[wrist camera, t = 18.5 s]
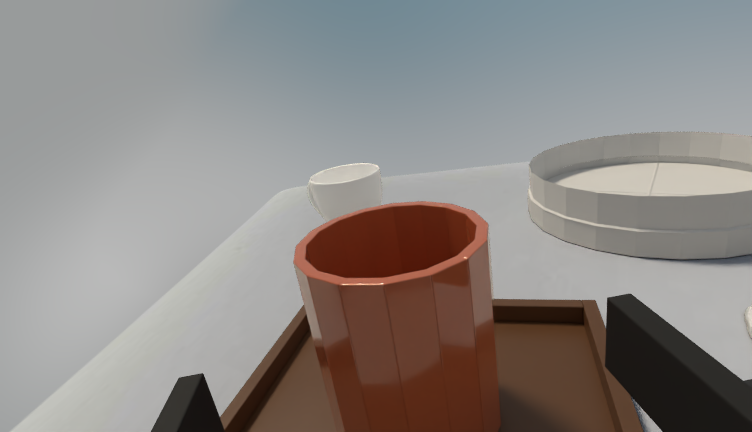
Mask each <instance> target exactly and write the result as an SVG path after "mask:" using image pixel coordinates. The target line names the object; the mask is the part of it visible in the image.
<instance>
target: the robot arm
mask: <svg viewBox="0 0 752 432" xmlns="http://www.w3.org/2000/svg"><path fill="white" fill-rule="evenodd" d="M605 367H606V368H607V369H608V371H609V372H610V373H611V374H612V375H613V376H614V377H615V378H616V380H617V381H618V382H619V383H620V384H621V385H622V386H623V387H624V389H625V390H626V391H627V392H628V393H629V394H630V395H631V396H632V398H633V399H634V400H635V401H636V402H637V403H638V404H639V405H640V407H641V408H642V409H643V410H644V411H645V412H646V413H647V414H648V416H649V417H650V418H651V419H652V420H653V421H654V422H655V423H656V425H657V426H658V427H659V428H660V429H661V430H662V431H663V432H752V379H751V380H746V381H743V380H741V379H740V378H739V377H737V376H736V375H735V374H733V373H732V372H731V371H730V370H728V369H727V368H726V367H724V366H723V365H722V364H721V363H719V362H718V361H717V360H715V359H714V358H713V357H712V356H710V355H709V354H708V353H706V352H705V351H704V350H703V349H701V348H700V347H699V346H697V345H696V344H695V343H694V342H692V341H691V340H690V339H688V338H687V337H686V336H684V335H683V334H682V333H681V332H679V331H678V330H677V329H675V328H674V327H673V326H672V325H670V324H669V323H668V322H666V321H665V320H664V319H663V318H661V317H660V316H659V315H657V314H656V313H655V312H654V311H652V310H651V309H650V308H648V307H647V306H646V305H645V304H643V303H642V302H641V301H639V300H638V299H637V298H636V297H634V296H633V295H632V294H626V295H620V296H615V297H609V298H607V323H606V350H605ZM151 432H225V430H224V427H223V425H222V422H221V420H220V417H219V414H218V412H217V409H216V406H215V404H214V401H213V398H212V396H211V393H210V390H209V388H208V385H207V382H206V380H205V377H204V374H203V373H202V374H197V375H191V376H186V377H181V378H179V379H178V381H177V382H176V384H175V386H174V388H173V390H172V392H171V394H170V396H169V398H168V400H167V402H166V404H165V406H164V407H163V409H162V411H161V413H160V415H159V417H158V419H157V421H156V423H155V425H154V427H153V429H152V431H151Z"/></svg>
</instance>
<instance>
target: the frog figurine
mask: <svg viewBox="0 0 752 432" xmlns="http://www.w3.org/2000/svg"><path fill="white" fill-rule="evenodd" d="M744 316H745V321H746V322H747V330H748V333H749V335H750V337H751V339H752V305H751V306H750V307H748V308H747V309H746V311H745V314H744Z"/></svg>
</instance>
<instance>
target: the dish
mask: <svg viewBox="0 0 752 432" xmlns="http://www.w3.org/2000/svg"><path fill="white" fill-rule="evenodd" d="M639 156H641V157H639ZM683 156H685V157H683ZM622 157H623V158H622ZM699 157H700V158H699ZM611 158H612V159H611ZM595 160H596V161H595ZM728 160H729V161H728ZM589 161H590V162H589ZM529 177H530V187H529V189H528V209H529V213H530V216H531V220H532V221H533V222H534V223H535V224H537V225H538V226H539V227H540V228H541V229H542V230H543V231H545V232H547V233H549V234H551V235H554V236H556V237H558V238H560V239H562V240H564V241H567V242H570V243H574V244H577V245H581V246H584V247H587V248H591V249H594V250H599V251H605V252H611V253H617V254H623V255H629V256H634V257H649V258H664V259H710V258H728V257H735V256H741V255H747V254H752V136H746V135H736V134H726V133H708V132H652V133H635V134H624V135H614V136H604V137H598V138H592V139H586V140H580V141H576V142H572V143H568V144H564V145H560V146H557V147H554V148H551V149H549V150H546V151H544V152H542V153H540V154H539V155H537V156H535V157H534V158H533V159H532V160H531V162H530V164H529Z"/></svg>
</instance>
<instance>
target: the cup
mask: <svg viewBox="0 0 752 432" xmlns="http://www.w3.org/2000/svg"><path fill="white" fill-rule="evenodd" d="M307 194H308V198H309V201H310V203H311V204H312V206H313V207H314V208H315V210H316V211H317V212H318V213H319V214H320V215H321V216H322V217H323V219H324V220H325V221H326V223H327V222H329V221H330V220H332V219H335V218H337V217H340V216H343V215H346V214H349V213H352V212H355V211H358V210H361V209H365V208H370V207H375V206H381V202H382V182H381V175H380V169H379V166H377V165H375V164H370V163H358V164H349V165H343V166H338V167H333V168H330V169H326V170H323V171H321V172H319V173H316V174H315V175H313V176H312V177H311V178H310V182H309V183H308V185H307Z"/></svg>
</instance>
